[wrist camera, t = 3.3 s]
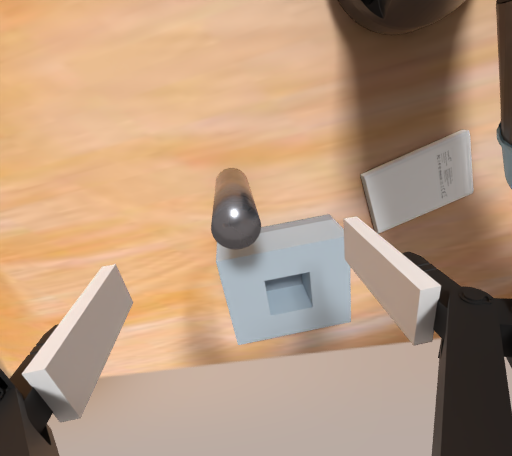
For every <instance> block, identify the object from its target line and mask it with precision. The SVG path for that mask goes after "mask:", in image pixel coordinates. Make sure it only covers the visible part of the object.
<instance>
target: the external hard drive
mask: <svg viewBox="0 0 512 456" xmlns="http://www.w3.org/2000/svg"><path fill="white" fill-rule="evenodd" d="M360 176H361V180H362V184H363V188H364V191H365V195H366V199H367V203H368V207H369V211H370V215H371V219H372V223H373V227H374V231H375V232H377V233H378V234H379V233H381V232H383V231H386V230H388V229H390V228H393V227H395V226H397V225H400V224H402V223H404V222H407V221H409V220H412V219H414V218H416V217H419V216H421V215H423V214H426V213H428V212H430V211H433V210H435V209H437V208H440V207H442V206H444V205H447V204H449V203H451V202H454V201H456V200H458V199H460V198H463V197H465V196H468V195H470V194H472V193H473V176H472V159H471V141H470V133H469V130H460V131H458V132H456V133H453V134H451V135H449V136H447V137H444V138H442V139H440V140H437V141H435V142H433V143H431V144H428V145H426V146H424V147H422V148H419V149H417V150H415V151H412V152H410V153H408V154H406V155H403V156H401V157H399V158H397V159H394V160H392V161H390V162H387V163H385V164H383V165H381V166H378V167H376V168H374V169H371V170H369V171H367V172H365V173H362V174H360Z"/></svg>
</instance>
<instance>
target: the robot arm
mask: <svg viewBox="0 0 512 456" xmlns="http://www.w3.org/2000/svg"><path fill="white" fill-rule="evenodd" d="M338 1H339V3H340V4H341V6H342V7H343V9H344V10H345V11H346V12H347V14H348V15H349V16H350V17H351V18H352V19H353V20H355V21H356V22H357V23H358V24H360V25H361V26H363V27H365V28H367V29H369V30H371V31H374V32H377V33H381V34H389V35H396V34H404V33H408V32H412V31H415V30H417V29H420V28H422V27H425V26H427V25H430V24H432V23H434V22H436V21H438V20H440V19H442V18H444V17H445V16H447V15H448V14H450V13H451V12H453V11H454V10H455V9H457V8H458V7H459V6H460V5H462V4H463V3H464V2H465V1H466V0H338ZM496 2H497V3H496V14H497V35H498V57H499V79H500V100H501V122H500V124H499V127H498V128H497V140H498V142H499V144H500V145H501V146H502V154H503V163H504V171H505V177H506V180H507V183H508V184H509V186H510V188H511V189H512V0H497V1H496ZM344 254H345V260H346V262H347V263H348V264H349V265H350V267H351V268H352V269H353V270H354V272H355V273H356V274H357V275H358V277H359V278H360V279H361V280H362V282H363V283H364V284H365V285H366V287H367V288H368V289H369V290H370V292H371V293H372V294H373V295H374V297H375V298H376V299H377V300H378V302H379V303H380V304H381V305H382V307H383V308H384V309H385V310H386V312H387V313H388V314H389V315H390V317H391V318H392V319H393V320H394V322H395V323H396V324H397V325H398V327H399V328H400V329H401V330H402V332H403V333H404V334H405V335H406V337H407V338H408V339H409V340H410V342H411V343H412V344H413V345H418V344H423V343H428V342H432V340H433V333H434V331H435V332H436V333H437V334H438V335H439V336H440V337H441V338H442V339H441V345H440V350H439V356H438V358H439V370H438V383H437V395H436V408H435V421H434V433H433V434H434V435H433V446H432V456H512V411H511V404H510V397H509V389H508V382H507V375H506V368H505V361H504V357H507V360H508V362H509V363H510V366H511V367H512V299H497V298H493V297H492V296H490V295H489V294H488V293H486V292H484V291H482V290H479V289H476V288H472V287H461V286H459V285H458V284H457V283H455V282H454V281H453V280H451V279H450V278H449V277H448V276H446V275H445V274H444V273H442V272H441V271H440V270H438V269H436V267H434V266H433V265H432V264H429V262H428V261H426V260H425V259H424V258H422V257H421V256H419V255H416V254H414V253H411V252H406V253H401V252H399V251H398V250H397V249H396V248H394V247H393V246H392V245H391V244H390V243H388V242H387V241H386V240H385V239H383V238H382V237H381V236H380V235H379V234H377V233H376V232H375V231H374V230H373V229H371V228H370V227H369V226H368V225H366V224H365V223H364V222H363V221H362V220H360V219H359V218H358V217H357V216H356V217H351V218H346V219H344ZM132 304H133V301H132V299H131V297H130V294H129V292H128V290H127V288H126V286H125V283H124V281H123V279H122V277H121V275H120V272H119V270H118V268H117V266H116V264H114V265H109V266H104V267H102V268H101V269H100V270H99V272H98V273H97V274H96V276H95V277H94V278H93V280H92V281H91V282H90V284H89V285H88V286H87V288H86V289H85V290H84V292H83V293H82V294H81V296H80V297H79V298H78V300H77V301H76V302H75V304H74V305H73V306H72V308H71V309H70V310H69V312H68V313H67V314H66V316H65V317H64V318H63V320H62V321H61V322H60V324H58V325H55V326H54V327H53V328H51V329H50V330H49V331H48V332H47V333H45V334H44V335H43V337H42V338H41V339H40V341H39V342H38V343H37V344H36V347H34V348H33V350H32V351H31V352H30V355H28V356H27V357H26V359H25V360H24V361H23V362H22V364H21V365H20V366H19V367H18V369H17V370H16V371H15V373H14V374H13V375H12V376H11V378H10V379H9V378H8V377H7V376H6V375H5V374H4V372H3V371H2V370H1V369H0V456H59V453H58V450H57V446H56V443H55V440H54V437H53V434H52V431H51V429H50V427H49V426H48V425H47V422H48V420H49V418H50V417H51V415H52V413H53V414H54V415H55V417H56V418H57V419H58V420H59V421H60V422H64V421H69V420H74V419H78V418H81V416H82V414H83V412H84V409H85V407H86V405H87V403H88V401H89V398H90V396H91V394H92V392H93V389H94V387H95V385H96V383H97V381H98V379H99V376H100V374H101V372H102V370H103V368H104V365H105V363H106V361H107V359H108V357H109V354H110V352H111V350H112V348H113V346H114V344H115V341H116V339H117V337H118V335H119V333H120V330H121V328H122V326H123V324H124V322H125V319H126V317H127V315H128V313H129V311H130V308H131V306H132Z"/></svg>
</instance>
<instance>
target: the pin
mask: <svg viewBox="0 0 512 456" xmlns="http://www.w3.org/2000/svg"><path fill="white" fill-rule="evenodd" d="M211 230H212V234H213V237H214V238H215V240H216V241H217V242H218V243H219V244H220V245H222V246H223V247H225V248H228V249H233V250H238V249H243V248H246V247H248V246H250V245H252V244H253V243H254V242H255V241H256V240H257V238H258V236H259V234H260V231H261V222H260V219H259V215H258V212H257V209H256V206H255V203H254V200H253V196H252V193H251V190H250V187H249V184H248V180H247V178H246V176H245V174H244V173H243V172H242V171H240V170H238V169H235V168H228V169H225V170H223V171H222V172H221V173H220V174H219V175H218V177H217V179H216V186H215V196H214V205H213V215H212V225H211Z"/></svg>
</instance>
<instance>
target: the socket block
mask: <svg viewBox="0 0 512 456" xmlns="http://www.w3.org/2000/svg"><path fill="white" fill-rule="evenodd" d="M216 263H217V267H218V271H219V275H220V278H221V282H222V286H223V290H224V293H225V297H226V301H227V305H228V308H229V312H230V316H231V320H232V324H233V327H234V331H235V335H236V339H237V342H238V345H241V344H246V343H251V342H256V341H261V340H266V339H270V338H275V337H280V336H285V335H290V334H295V333H300V332H304V331H309V330H314V329H319V328H324V327H329V326H334V325H338V324H343V323H348V322H351V294H350V265H349V264H348V263H347V262H346V260H345V254H344V229H343V228H342V227H341V226H340V225H339V224H338V223H337V222H336V221H335V220H334V219H333V218H332V217H331V216H330V215H329V214H328V215H323V216H318V217H313V218H308V219H302V220H297V221H292V222H287V223H282V224H277V225H271V226H266V227H261V231H260V234H259V236H258V238H257V240H256V241H255V242H254V243H253V244H252V245H250V246H248V247H246V248H243V249H238V250H233V249H228V248H225V247H223V246H222V245H220V244H219V243H218V242H217V254H216Z"/></svg>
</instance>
